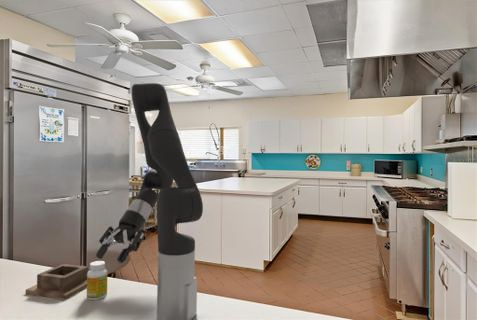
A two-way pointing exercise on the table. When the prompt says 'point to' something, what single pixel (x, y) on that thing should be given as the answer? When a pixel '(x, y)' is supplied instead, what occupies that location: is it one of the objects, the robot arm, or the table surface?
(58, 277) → the box
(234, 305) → the table surface
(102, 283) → the supplement bottle
